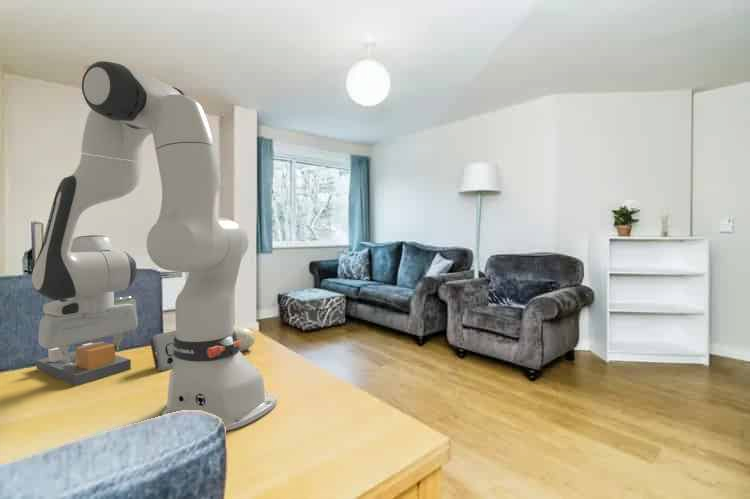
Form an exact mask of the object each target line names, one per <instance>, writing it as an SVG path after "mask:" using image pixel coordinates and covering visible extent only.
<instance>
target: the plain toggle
mask: <svg viewBox="0 0 750 499" xmlns="http://www.w3.org/2000/svg"><path fill="white" fill-rule="evenodd" d="M47 350H48V354H47V355H48V358H49V361H50V362H56V361H60V360H62V354H63V353H62V352H61V351H60V350H59V347H58V348H53V349H47Z"/></svg>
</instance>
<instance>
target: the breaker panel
mask: <svg viewBox="0 0 750 499" xmlns="http://www.w3.org/2000/svg"><path fill="white" fill-rule="evenodd" d="M68 352H69V353H70V354H75V355H76V350H72V351H68ZM75 359H76V358H75ZM131 361H132V360H131V358H126V357H124V356H120V355H117V354H115V363H112V364H108V365H105V366H101V367H98V368H94V369H91V370H87V369H84V368H82V367H79V366H76V362H72V363H69V364H67V363H66V362H65V355H63V353H62V360H60V361H56V362H50V361H49V358H48V357H43V358H39V359H36V370H37V369H39V370H40V371H39V370H38V371H39V372H41V371H42V373H45V374H47V375H49V376H51V377H54V378H57V379H58V380H60V381H63V382H65V383H68V384H71V385H72V386H75V387H77V386H80V385H85V384H86V383H87V384H88V383H89V382H93V381H96V380H99V379H100V380H101V379H103V378H107V377H110V376H113V375H117V374H120V373H123V372H126V371H130V370H131V369H132V365H131V363H132V362H131Z"/></svg>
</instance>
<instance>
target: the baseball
mask: <svg viewBox="0 0 750 499" xmlns="http://www.w3.org/2000/svg"><path fill="white" fill-rule="evenodd" d="M233 331H235V333H236V336H237V339H238V340H241V339H243V341H241V342H239V344H241V343H243V344H242V345H239V346H240V350H239V351H240V352H242V351H244V352H245V351H247V350H249V349H250V348H251V347H252V346H253V345H254V344H255V342H256V337H255V334H254V333H253V331H252V330H250V329H249V328H247V327H240V328H236V329H235V330H234V329H233Z"/></svg>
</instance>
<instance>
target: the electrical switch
mask: <svg viewBox="0 0 750 499" xmlns="http://www.w3.org/2000/svg"><path fill="white" fill-rule="evenodd" d="M175 336H176V329H174V330H170V331H166V332H163V333H159V334H154V335H153V337H152V338H150V339H149V341H150V342H149V343H150V346H151V347H150V348H151V353H152V358H153V364H154V367H155V369H158V370H159V371H161V372H163V371H166V370H170V369H172V368H173V366H174V363H175V359H176V357H175V356H174V349H173V343H174V337H175Z"/></svg>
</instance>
